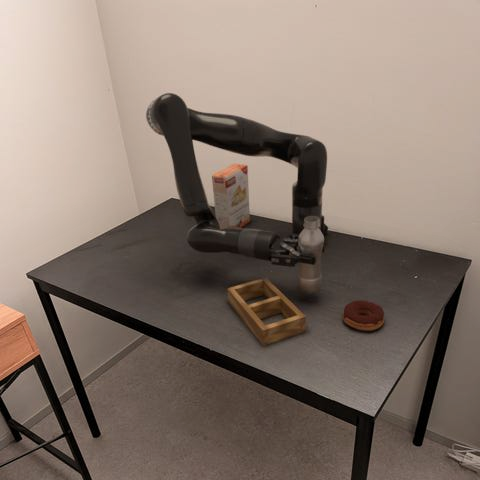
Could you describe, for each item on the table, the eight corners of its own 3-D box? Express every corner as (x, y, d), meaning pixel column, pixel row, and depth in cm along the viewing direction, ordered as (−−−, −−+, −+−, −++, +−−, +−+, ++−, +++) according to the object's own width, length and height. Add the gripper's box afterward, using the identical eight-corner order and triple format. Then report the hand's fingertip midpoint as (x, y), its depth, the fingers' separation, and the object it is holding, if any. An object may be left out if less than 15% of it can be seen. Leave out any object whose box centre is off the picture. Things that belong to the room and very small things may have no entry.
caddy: (266, 291, 127) (265, 277, 124) (305, 331, 110) (305, 316, 108) (228, 302, 123) (227, 288, 121) (263, 345, 107) (262, 330, 104)
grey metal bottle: (326, 288, 120) (331, 217, 108) (311, 299, 116) (314, 227, 105) (306, 281, 124) (309, 211, 112) (291, 291, 120) (292, 220, 108)
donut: (392, 323, 110) (394, 309, 108) (363, 338, 106) (364, 325, 104) (362, 305, 117) (363, 292, 115) (333, 319, 113) (334, 306, 111)
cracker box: (231, 237, 157) (225, 177, 145) (216, 234, 160) (210, 175, 148) (251, 221, 166) (248, 164, 154) (237, 219, 169) (233, 162, 157)
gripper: (245, 242, 112) (310, 253, 105) (269, 220, 122) (329, 228, 116) (247, 269, 116) (309, 281, 110) (269, 245, 126) (327, 255, 120)
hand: (319, 254), depth 113 cm, fingers closed on grey metal bottle, 6 cm apart
